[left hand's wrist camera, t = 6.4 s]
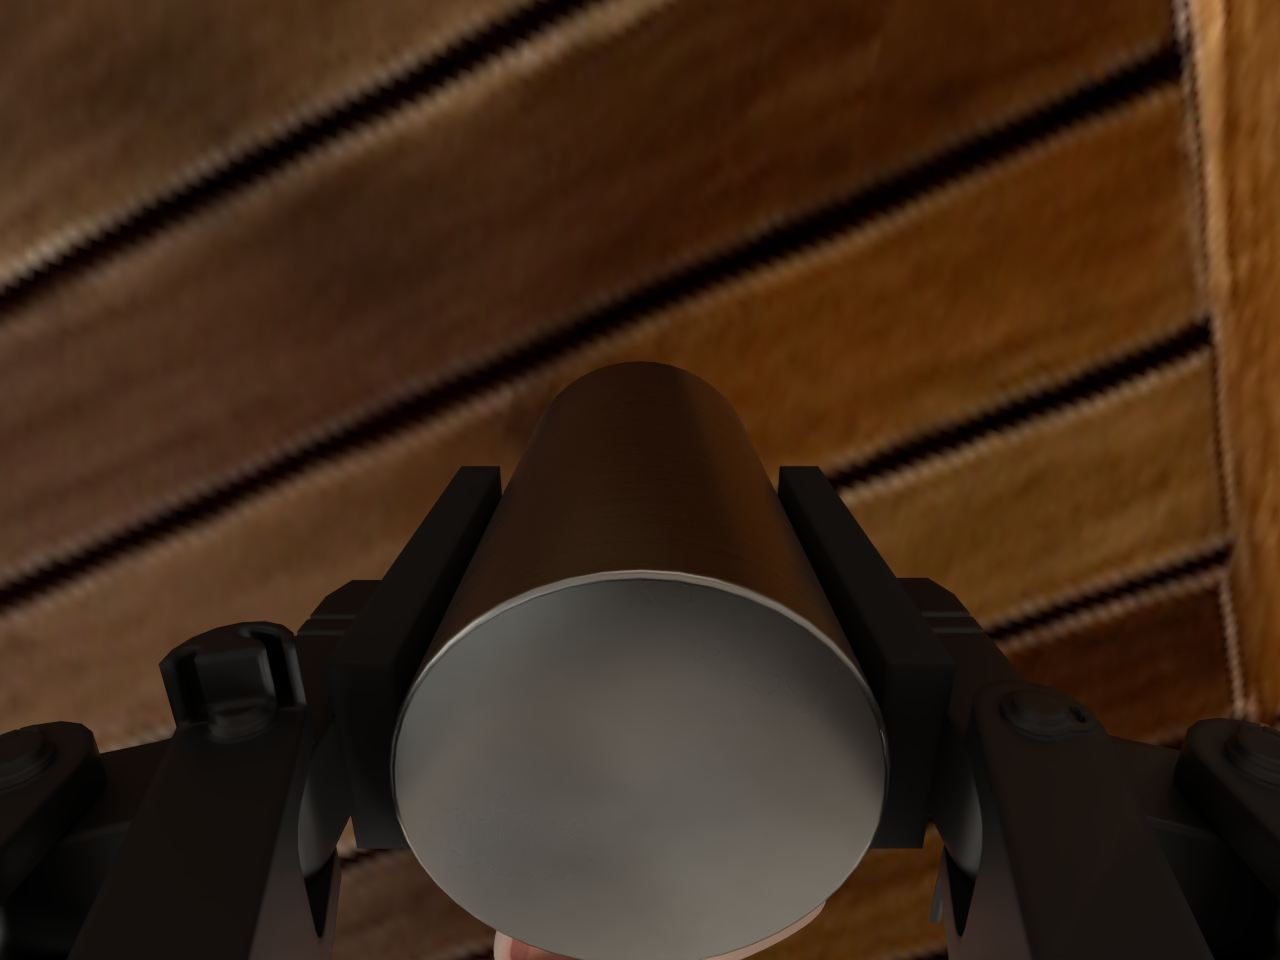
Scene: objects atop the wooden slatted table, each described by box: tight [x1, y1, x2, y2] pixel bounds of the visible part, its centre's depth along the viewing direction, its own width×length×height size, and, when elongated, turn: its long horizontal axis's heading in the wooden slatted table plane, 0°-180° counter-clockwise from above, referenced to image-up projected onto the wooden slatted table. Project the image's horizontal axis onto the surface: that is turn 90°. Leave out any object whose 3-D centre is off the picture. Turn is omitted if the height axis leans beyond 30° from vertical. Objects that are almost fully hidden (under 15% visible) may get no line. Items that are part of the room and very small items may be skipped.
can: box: [389, 361, 891, 960], centre depth 13 cm, size 6×6×10 cm
